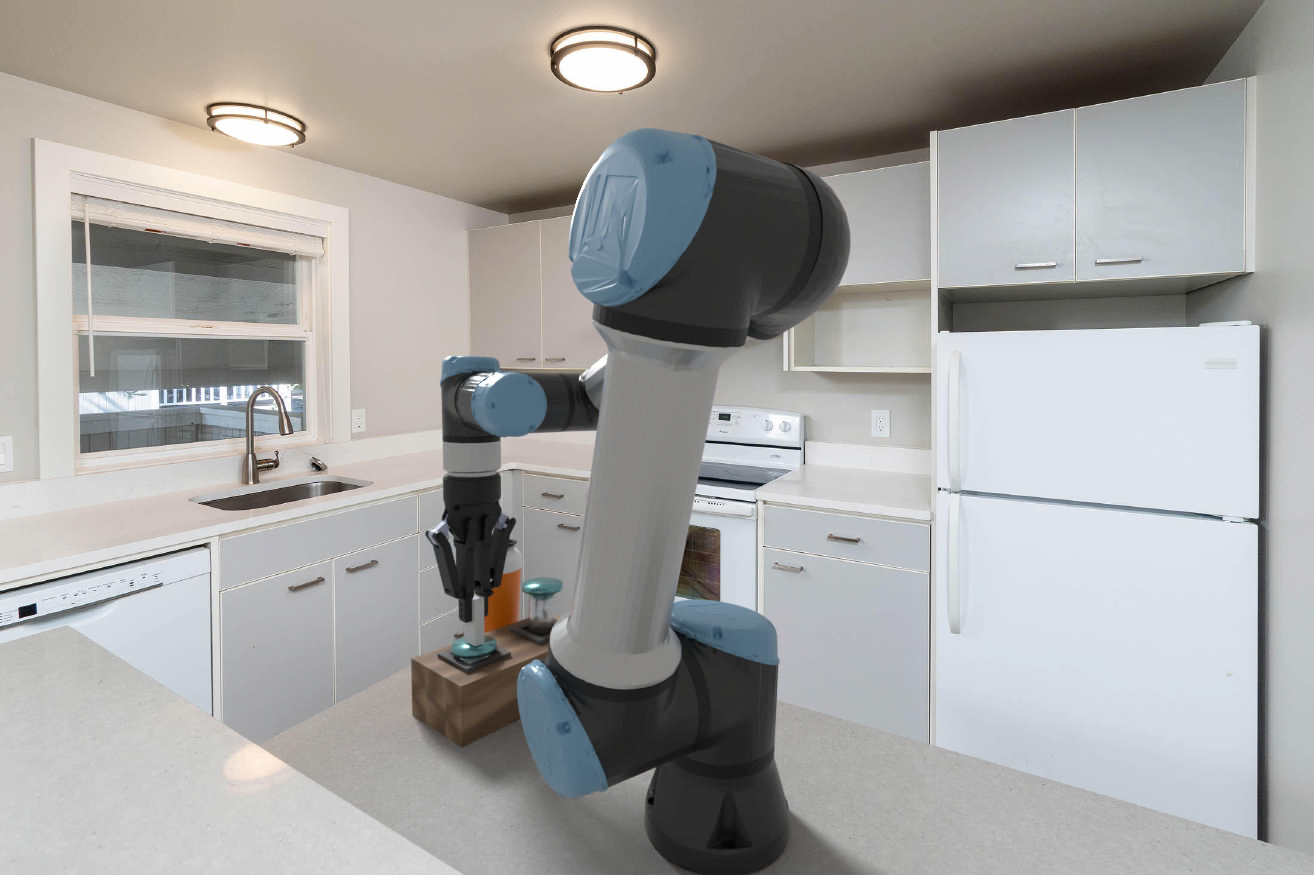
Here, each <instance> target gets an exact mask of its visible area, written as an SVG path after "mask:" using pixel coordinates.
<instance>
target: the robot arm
mask: <svg viewBox="0 0 1314 875" xmlns="http://www.w3.org/2000/svg"><path fill="white" fill-rule="evenodd" d="M572 213H573V214H572V218H571V222H570V228H569V236H568V237H569V238H568V258H569V260H570V261H571V263H572V266H571V268H570V275H571V278H572V281H573V282H574V285H575V287H576V289H577V290H578V292H579V293H580V294H581V295H582V297H584V298H585V299H587V300H589V301H590V302H591V303H593V307H592V315H591V325H593V328H595V330H596V331H597V332H598V334H599V335H600V337H601V338H602V339H603V341H604V342H605V343H606V344H605V345H606V346H607V353H606V354H605V355H604V356H603V357H601V358H600V359H599V360H598V361H597V362H595V363H593V365H591V366H590V367H588V368H587V369H586V370H584V371H582V372H527V371H526V372H525V371H524V372H523V371H516V370H515V371H514V370H511V371H507V370H501V364H500V362H499V360H498V359H497V358H496V357H493V356H472V355H465V356H463V355H458V356H456V355H454V356H453V355H448V356H447V357H445V358H444V359H443V360H442V362H441V372H440V373H441V377H440V380H439V386H440V390H441V394H440V395H441V396H440V397H441V430H442V434H441V435H442V469H443V470H444V471H445V472H446V473H445V474H444V476H443V477H442V500H443V502H444V510H443V513H442V515H441V522H440V523H439V524H437V525H436V526H435V527H434V528H428V529H426V530H425V533H424V534H425V537H426V538H427V540H428V541H429V543H430V544H431V545H432V548H433V554H434V556H435V560H436V564H437V567H438V568H437V569H438V573H439V576H440V579H441V583H442V587H443V591H444V594H445V595H447V596H449V597H452V598H453V599H456V600H458V618H459V621H461V622H463V637H464V641H465V642H467V643H469V644H471V645H473V646H478V645H480V644H483V643H484V617H486V616H487V615H488V597H490V596H492V595H493V593H494V591H492V589H493V588H495V587H499V586H500V585H501V581H502V576H503V570H504V565H505V560H506V555H507V549H508V544H509V539H511V538H510V537H511V533H512V532H513V530H514V528H515V526H516V523H517V519H516V518H515V517H512V516H510V515H506V514H505V513H503V510H502V509H503V508H502V506H501V504H500V499H501V498H502V475H501V474H500V473H499V472H498V471H499V470H500V469H501V468H502V441H501V440H502V438H519V437H525V436H528V434H544V433H548V434H549V433H562V432H565V433H566V432H567V433H568V432H595V431H596V434H595V441H594V448H593V456H592V460H591V461H592V462H591V468H590V476H589V481H588V482H589V483H588V489H587V490H588V491H587V496H586V497H587V498H586V505H585V512H584V518H583V519H584V520H583V527H582V532H581V534H582V535H581V540H580V546H579V547H580V548H579V554H578V561H577V562H578V563H577V569H576V575H575V582H574V590H573V595H572V596H573V597H572V602H571V603H572V604H571V610H569V611H567V612H566V613H564V614H563V615H561V617H560V618H559V619H558V621H557V622H556V623H555V624H554V626H553V628H552V631H551V635H550V642H549V649H548V656H547V658H546V659H543V660H533V661H532V663H530V664H528V665H526V666H525V667H523V668H522V669H521V671H520V673H519V676H518V681H517V699H518V707H519V713H520V718H521V719H520V721H521V725H522V730H523V733H524V736H525V740H526V742H527V747H528V749H529V751H530V754H531V756H532V759H533V760H534V762H535V765H536V768H537V769H538V771H539V773H540V774H541V776H542V778H543V780H544V781H545V782H546V784H547V785H548V786H549V787H550V789H552V791H554V792H555V793H556V794H558V795H559V796H561V797H563V798H568V799H578V798H581V797H584V796H587V795H591V794H594V793H597V792H602V793H603V792H606V791H607V790H608V789H609V788H611V787H613V786H616V785H618V784H621V783H623V782H625V781H627V780H630V779H631V778H632V779H633V778H635V777H637V776H638V775H639V776H640V775H641V774H644V773H646V772H648V771H651V770H653V769H654V771H653V774H652V776H651V780H650V783H649V785H648V788H647V791H646V795H645V801H644V802H645V803H644V828H645V831H646V835H647V837H648V838H649V841H650V842H651V844H652V845H653V846H654V848H656V850H657V851H658V852H659V853H660V854H661V855H662V856H664V857H665V858H666V859H668V860H669V861H670V862H671V863H673V864H675V865H677V866H679V867H681V868H683V869H686V870H689V871H691V872H694V873H698V874H701V875H702V874H703V875H747V874H751V873H753V872H757V871H759V870H762V869H764V868H766V867H768V866H769V865H771V864H773V862H775V861H776V860H777V859H778V858H779V857H780V856H781V854H783V852H784V850H785V849H786V848H787V843H788V841H789V835H790V808H789V804H788V800H787V798H786V795H785V792H784V791H785V790H784V787H783V784H782V781H781V777H780V774H779V773H780V772H779V769H778V766H777V763H776V760H775V749H776V748H775V746H776V745H775V744H776V727H777V726H776V723H777V704H778V702H777V700H778V698H777V697H778V679H779V666H780V661H781V660H780V657H778V656H779V654H778V652H779V651H778V649H779V648H778V645H779V644H778V633H777V629H776V627H775V626H774V624H773V623H772V621H770V620H769V619H768V618H767V617H766V616H765V615H763V614H761V613H760V612H757V611H755V610H753V609H752V608H748V607H745V606H742V605H738V604H735V603H730V602H724V601H719V600H710V599H685V600H683V599H682V600H679V601H678V600H677V601H675V599H676V593H677V588H678V585H679V584H678V583H679V579H680V574H681V569H682V562H683V559H684V554H685V548H686V544H687V538H688V532H689V527H690V522H691V517H692V513H693V512H692V511H693V506H694V501H695V496H696V491H697V486H698V480H699V476H700V470H701V467H702V461H703V455H704V451H705V446H706V445H705V444H706V439H707V437H708V436H707V435H708V430H709V425H710V419H711V414H712V410H713V409H712V408H713V403H714V399H715V393H716V388H717V384H718V378H719V374H720V368H721V367H722V366H723V365H724V363H725V362H727V361H728V360H730V359H731V358H733V357H734V356H735V355H737V354H739V353H740V352H741V351H743V350H744V349H745V347H746V343H747V342H749V341H755V342H767V341H771V340H773V339H775V338H776V337H779V336H780V335H782V334H784V333H786V332H787V331H789V330H791V329H792V328H795V327H796V326H798V325H799V324H800V323H801V322H802V323H803V322H804V321H805V320H807V319H808V318H810V317H811V316H813V314H815V313H816V312H817V311H818V310H820V308H822V307H823V306H824V305H825V304H826V303H827V302H828V301H829V299H830V298H831V297H832V296H833V294H834V293H835V291H836V290H837V289H838V287H839V286H840V284H841V282H842V279H843V277H844V275H845V272H846V270H847V267H848V264H849V259H850V254H851V228H850V225H849V220H848V216H847V212H846V209H845V208H844V206H843V204H842V202H841V200H840V199H839V197H838V195H837V194H836V192H835V191H834V190H833V188H832V187H831V186H830V185H829V184H828V183H827V182H826V181H825V180H824V179H822V178H821V177H820V176H818V175H817V174H816V173H814V172H813V171H811V170H808V169H807V168H804V167H801V166H799V165H796V164H792V163H789V162H783V161H782V162H780V161H778V160H774V159H772V158H768V157H765V156H763V155H760V154H757V153H753V152H751V151H746V150H743V149H740V148H737V147H734V146H730V145H727V144H724V143H722V142H718V141H715V140H713V139H710V138H707V137H703V136H702V135H699V134H690V133H688V132H687V133H683V132H677V131H671V130H666V129H665V130H664V129H659V128H654V127H653V128H652V127H644V128H638V129H635V130H630V131H629V132H627V133H624V134H623V135H621V136H620V137H618V138H617V139H616V140H614V141H612V143H611V144H610V145H608V147H606V149H604V151H603V152H602V154H601V155H600V157H599V158H598V159H597V162H595V163H594V164H593V165H592V167H591V168H590V170H589V172H588V174H587V176H586V178H585V180H584V182H583V185H582V187H581V189H580V191H579V194H578V197H577V200H576V203H575V206H574V210H573V212H572ZM449 533H450V534H451V536H452V537H453V547H454V548H455V556H454V553H453V548H452V546H451V543H450V542H449V540H450V539H451V536H450V534H449ZM474 591H475V593H474Z"/></svg>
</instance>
